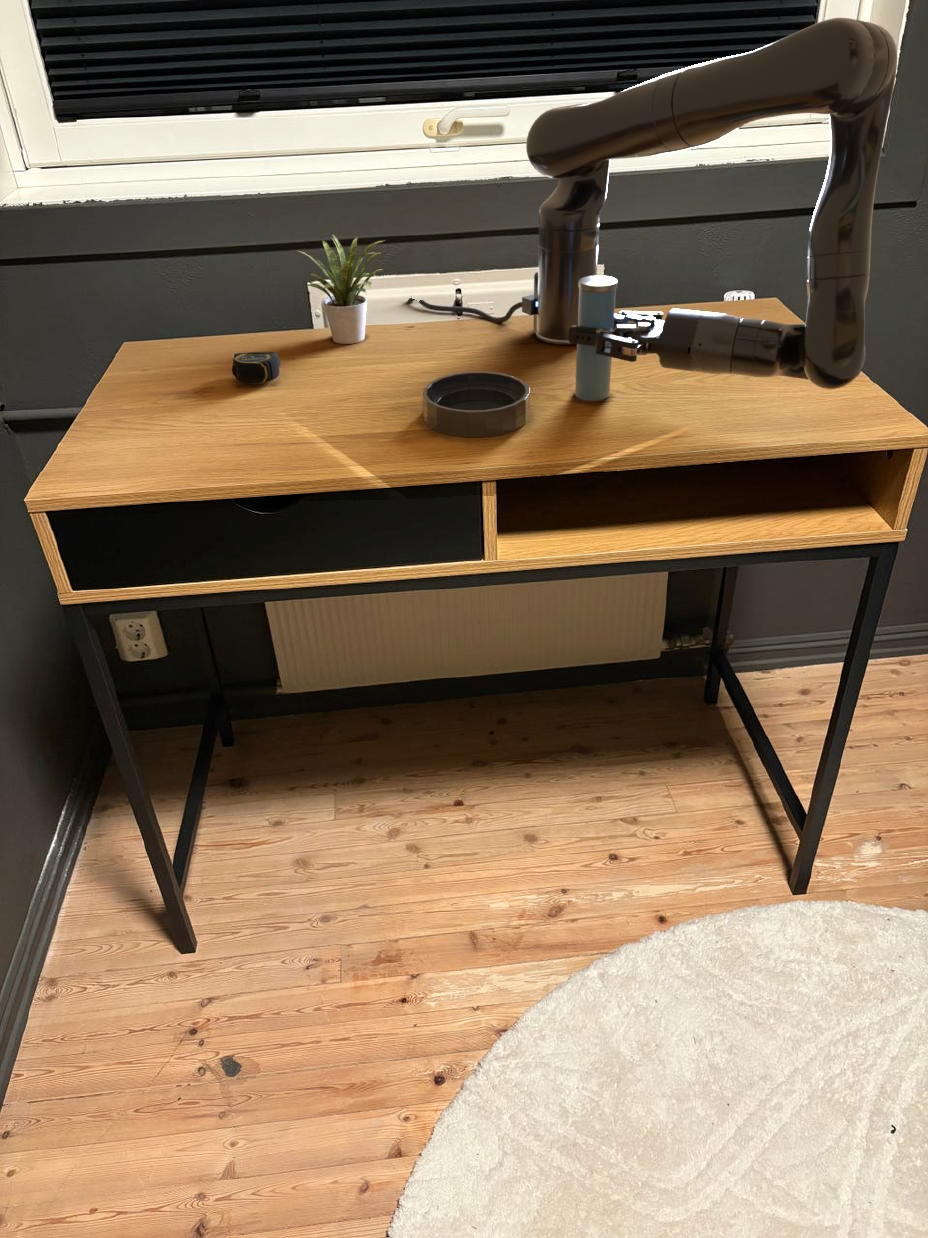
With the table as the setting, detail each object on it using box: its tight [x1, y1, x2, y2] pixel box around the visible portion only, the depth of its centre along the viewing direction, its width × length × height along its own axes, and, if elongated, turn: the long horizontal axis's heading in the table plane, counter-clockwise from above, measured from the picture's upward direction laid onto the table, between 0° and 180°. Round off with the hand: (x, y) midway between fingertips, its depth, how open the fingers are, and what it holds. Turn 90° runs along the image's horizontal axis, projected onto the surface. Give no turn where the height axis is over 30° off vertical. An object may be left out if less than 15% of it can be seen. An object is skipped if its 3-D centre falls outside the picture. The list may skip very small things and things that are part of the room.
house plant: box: [298, 233, 387, 345], centre depth 150 cm, size 14×14×16 cm
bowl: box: [421, 370, 531, 438], centre depth 126 cm, size 14×14×4 cm
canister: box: [574, 275, 618, 402], centre depth 127 cm, size 5×5×16 cm
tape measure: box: [231, 351, 281, 385], centre depth 140 cm, size 7×7×4 cm
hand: (576, 327), depth 127 cm, fingers closed on canister, 4 cm apart
